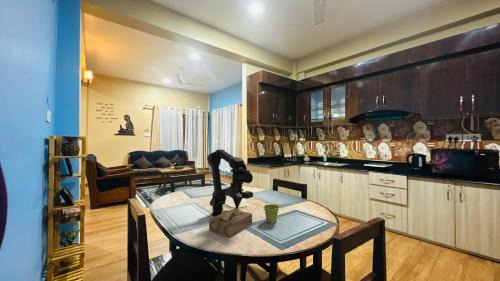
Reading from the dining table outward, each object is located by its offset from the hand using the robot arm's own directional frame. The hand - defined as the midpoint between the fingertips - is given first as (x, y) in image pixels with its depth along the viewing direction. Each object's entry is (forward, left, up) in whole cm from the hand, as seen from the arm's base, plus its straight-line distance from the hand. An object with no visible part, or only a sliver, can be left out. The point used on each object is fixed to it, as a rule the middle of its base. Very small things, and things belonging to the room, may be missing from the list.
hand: (237, 207), depth 116 cm
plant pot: (+14, +15, -10) cm, 23 cm away
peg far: (0, 0, -6) cm, 6 cm away
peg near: (0, -10, -5) cm, 11 cm away
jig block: (0, -5, -9) cm, 10 cm away
